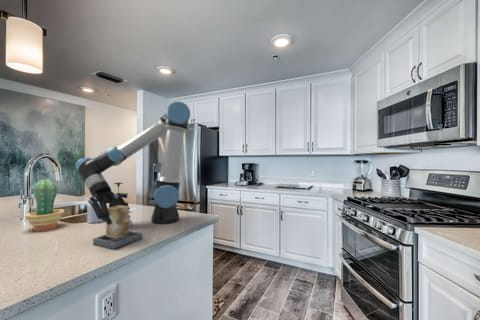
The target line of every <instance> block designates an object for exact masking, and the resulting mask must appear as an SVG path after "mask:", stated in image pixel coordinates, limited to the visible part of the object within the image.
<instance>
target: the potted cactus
mask: <svg viewBox="0 0 480 320" xmlns="http://www.w3.org/2000/svg"><path fill="white" fill-rule="evenodd" d="M31 190H32V194H33V197H34V199H35V201H36V211H33V212H29V213H26V214H25V215H24V216H25V219H26V220H27V221H28V223H29V224H30V225H31V226H32V227H33V228H34V229H33V230H34V231H36V232H39V231H48V230H52V229H56V228H57V227H58V223H59V221H60V220H61V219H62V215H64V213H65V209H62V208H61V209H60V208H59V209H58V208H57V209H54V206H55V200H56V197H57V195H58V186H57V184H56V182H54V181H53V180H52V179H39V181H38V182H35V183H34V184H33V185H32V186H31Z"/></svg>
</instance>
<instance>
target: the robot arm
mask: <svg viewBox="0 0 480 320" xmlns="http://www.w3.org/2000/svg"><path fill="white" fill-rule="evenodd" d="M190 119H191V109H190V108H189V106H188V105H187V104H186V103H184V102H183V101H179V100H178V101H172V102H171V103H170V104H168V106H166V110H165V114H163V115H162V116H161V117H160V118H158V121H157V122H155V123H154V124H152V125H151V126H149V127H147V128H146V129H144V130H142V131H141V132H139V133H138V134H136V135H135V136H133V137H131V138H130V139H128V140H127V141H125V142H124V143H122V144H121V145H119V146H112V147H109V148H107V149H106V150H103V152H101V153H99V154H98V155H97V156H95V157H93V158H91V157H88V156H87V157H83V158H80V159H78V160H77V161H76V162H75V165H74V166H75V169H76V170H77V173H78V175H79V176H80V178H81V179H82V182H84V184H85V186H86V187H87V189H88V190H89V193H90V195H91V197H90V198H89V200H88V201H87V203H90V204H91V205H92V207H93V209H94V211H95V214H96V216H97V218H98V219H102V220H103V222H104V220H105V224H106V223H107V224H108V225H110V226H111V228H112V230H113V231H114V232H115V231H116V230H117V229H118V228H119V227H118V225H117V224H116V222H115V221H114V219H113V217H112V216H111V215H109V214H108V210H107V208H108V205H109V204H110V205H113V206H118V205H121V206H129V204H128V205H127V204H126V201H125V200H124V197H121V194H120V193H121V192H119V193H118V192H117V193H118V194H116V193H115V192H113V191H112V188H111V186H110V185H109V184H108V182H107V180H106V178H105V177H104V175H103V174H102V173H103V172H105V171H107V170H108V169H110V168H111V167H117V166H119V165H120V164H122V163H123V162H124V161H126V160H127V159H128V158H130V157H132V156H133V155H135V154H137V153H138V152H139V151H141V150H143V149H144V148H146V147H147V146H148V145H151V144H152V143H153V142H155V141H156V140H158V139H160V138H161V137H162V136H163V135H165V141H164V147H163V154H162V160H161V161H162V162H161V167H160V175H159V177H158V178H156V180H155V181H154V183H153V188H154V189H153V191H154V194H153V200H154V203H153V204H154V209H153V211H152V214H151V219H150V220H151V221H150V222H151V223H153V224H156V225H164V224H165V225H166V224H171V223H176V222H177V221H180V215H179V211H178V209H177V203H178V201H179V199H180V192H179V191H180V183H181V182H180V180H179V178H178V175H179V170H180V169H179V168H180V163H181V154H182V146H183V140H184V133H186V132H188V127H189V120H190ZM97 201H98V202H99V203H100V206H99V204H98V202H97ZM107 204H108V205H107ZM100 207H101V208H100ZM130 209H131V208H130V207H129V210H130ZM108 215H109V216H108ZM133 224H134V223H133V220H131V216H130V215H129V228H130V227H131V226H132V225H133Z"/></svg>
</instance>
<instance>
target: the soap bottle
mask: <svg viewBox="0 0 480 320" xmlns="http://www.w3.org/2000/svg"><path fill="white" fill-rule="evenodd" d="M97 202H98V201H97ZM98 204H99V206H100V203H99V202H98ZM86 206H87V208H86V211H87V213H86V216H87V217H86V218H87V221H86V222H87V223H88V224H99V223H102V221H103V220H102V219H98V218H97V216H96V214H95V211H94V209H93V207H92V205H91V204H90V203H89V202H87V205H86ZM100 208H101V207H100ZM104 221H105V220H104ZM104 221H103V222H104ZM94 222H95V223H94ZM98 222H99V223H98ZM105 222H106V221H105Z"/></svg>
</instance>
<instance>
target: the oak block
mask: <svg viewBox="0 0 480 320" xmlns="http://www.w3.org/2000/svg"><path fill="white" fill-rule="evenodd" d="M129 208H130V206H129V205H128V206H121V205H118V206H113V207H109V206H107V210H108V214H109V215H111V216H112V217H113V219H114V221H115V222H116V224H117V225H118V227H119V228H118V229H117V230H116V231H115V232H114V231H113V230H112V228H111V226H110V225H108V224H107V223H106V222H105V226H106V227H105V235H106V237H110V238H115V239H117V238H119V237H122V236H125V235H128V234H129V231H130V227H129V216H130V214H129V213H130V212H129V211H130V209H129ZM109 215H108V216H109Z"/></svg>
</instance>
